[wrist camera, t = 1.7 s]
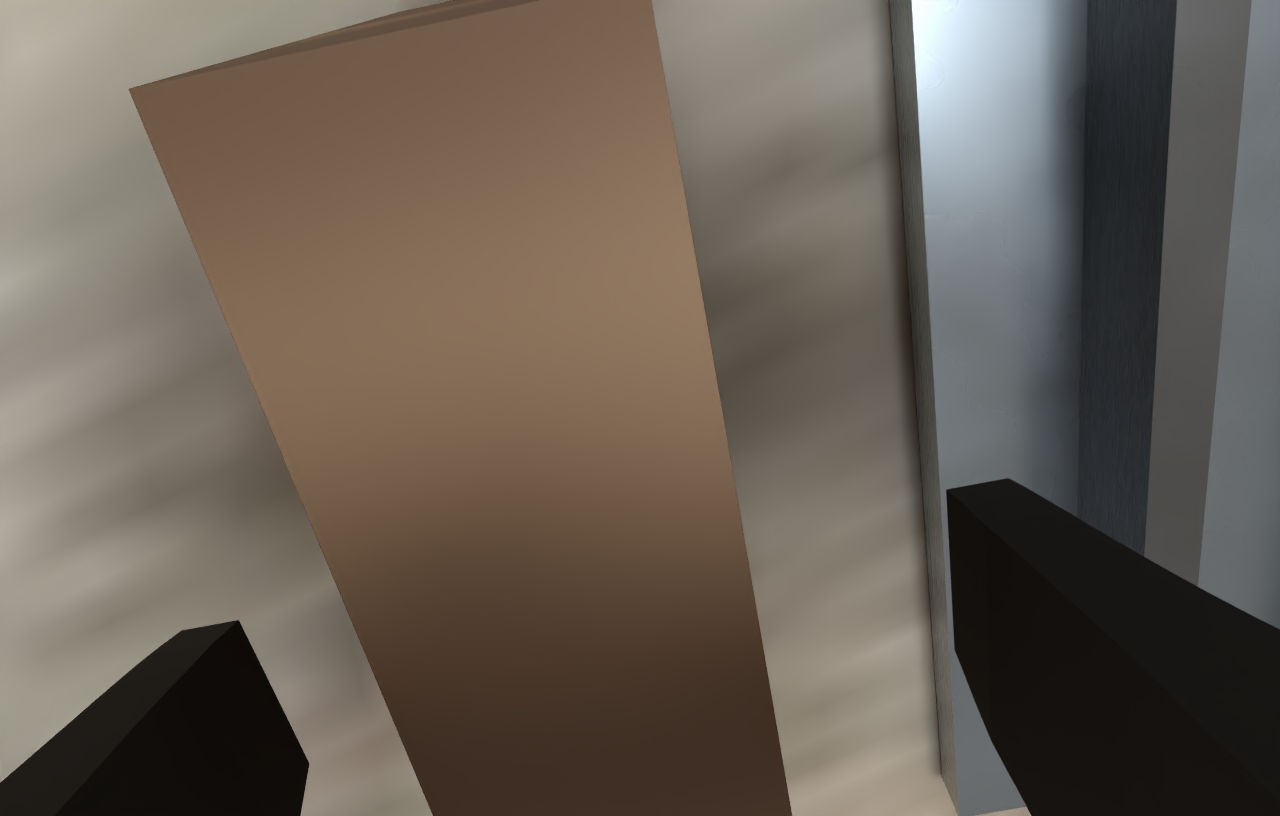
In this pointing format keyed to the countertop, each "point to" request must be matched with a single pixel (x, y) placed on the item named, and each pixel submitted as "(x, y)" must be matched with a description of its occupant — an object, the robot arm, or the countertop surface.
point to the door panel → (494, 393)
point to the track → (1094, 290)
